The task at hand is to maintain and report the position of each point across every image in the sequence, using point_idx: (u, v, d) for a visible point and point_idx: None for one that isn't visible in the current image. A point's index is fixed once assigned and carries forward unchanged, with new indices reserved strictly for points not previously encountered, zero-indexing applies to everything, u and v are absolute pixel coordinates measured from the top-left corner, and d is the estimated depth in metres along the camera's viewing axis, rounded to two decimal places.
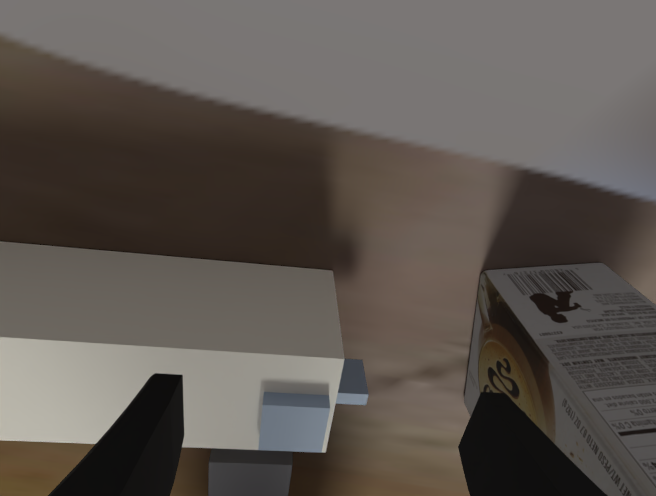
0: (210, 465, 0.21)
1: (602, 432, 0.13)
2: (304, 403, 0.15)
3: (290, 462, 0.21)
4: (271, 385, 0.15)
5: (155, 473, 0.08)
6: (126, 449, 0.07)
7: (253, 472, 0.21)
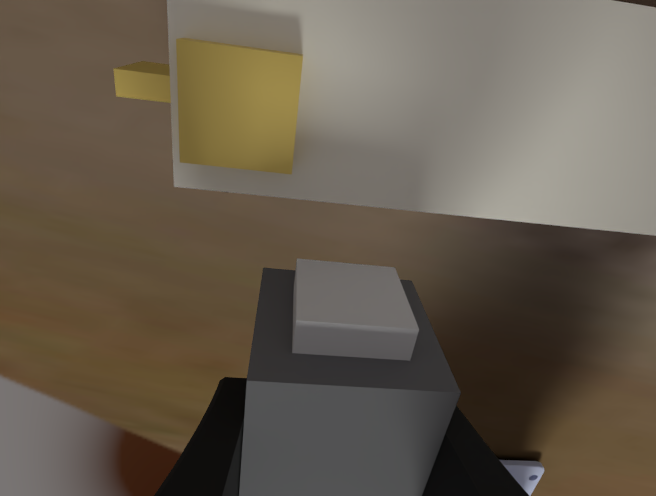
0: (250, 390, 0.08)
1: None
2: None
3: (453, 387, 0.08)
4: None
5: (235, 476, 0.08)
6: (217, 452, 0.07)
7: (359, 412, 0.08)
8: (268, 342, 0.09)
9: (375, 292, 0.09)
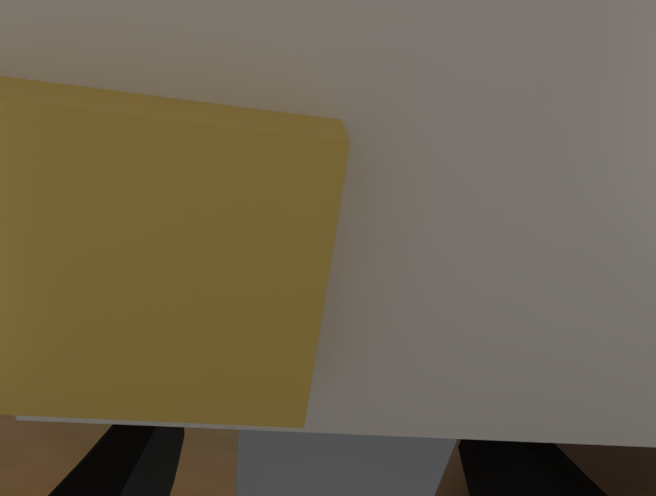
0: None
1: None
2: None
3: None
4: None
5: (155, 473, 0.08)
6: (126, 449, 0.07)
7: None
8: None
9: None
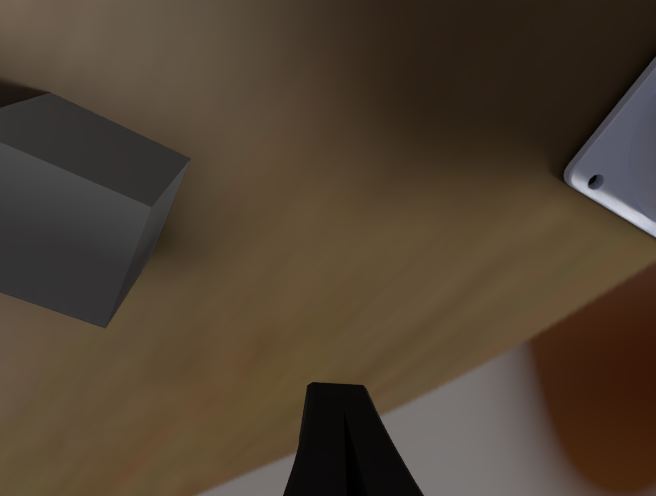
0: None
1: None
2: None
3: None
4: None
5: None
6: (330, 457, 0.08)
7: None
8: None
9: None
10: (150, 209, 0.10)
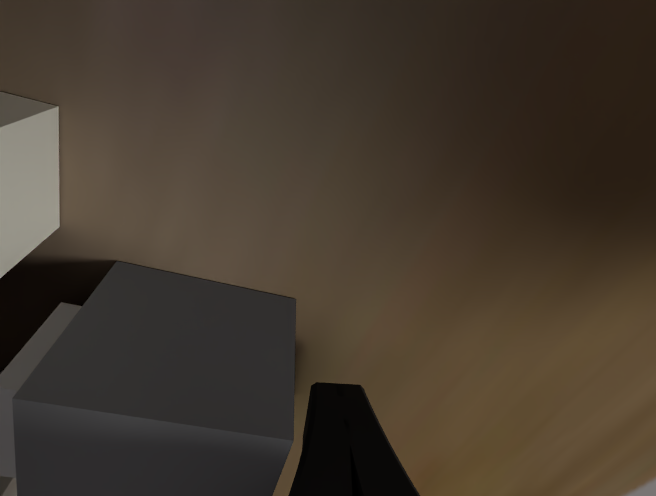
0: None
1: None
2: None
3: (16, 396, 0.06)
4: None
5: None
6: (334, 457, 0.08)
7: (58, 481, 0.07)
8: None
9: None
10: (291, 442, 0.07)
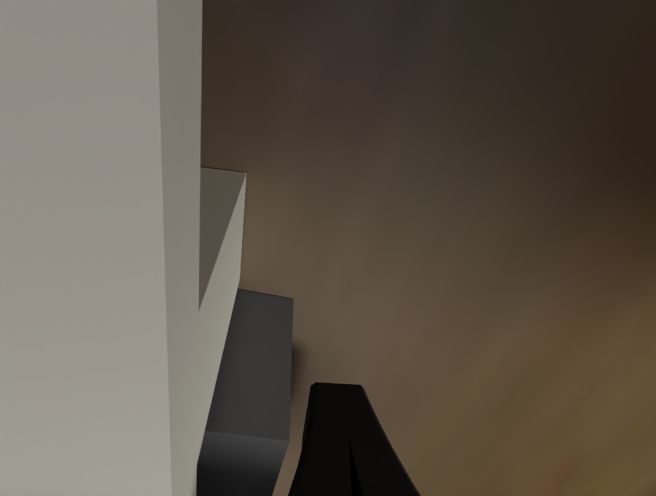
0: None
1: None
2: None
3: None
4: None
5: None
6: (334, 457, 0.08)
7: None
8: None
9: None
10: (287, 442, 0.07)
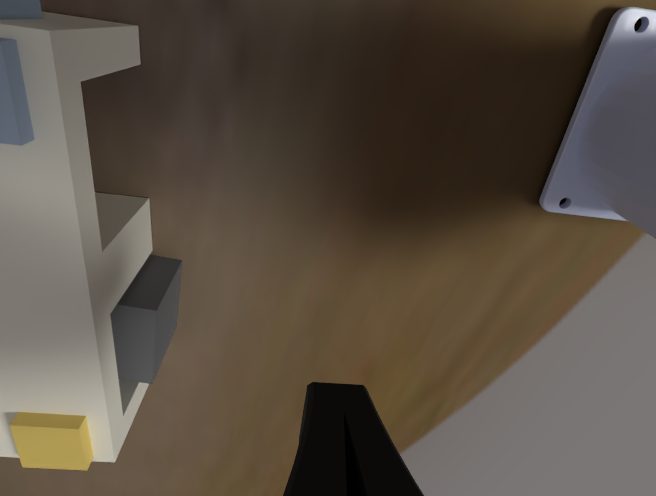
0: None
1: None
2: None
3: None
4: None
5: None
6: (329, 457, 0.08)
7: None
8: None
9: None
10: (156, 311, 0.17)
